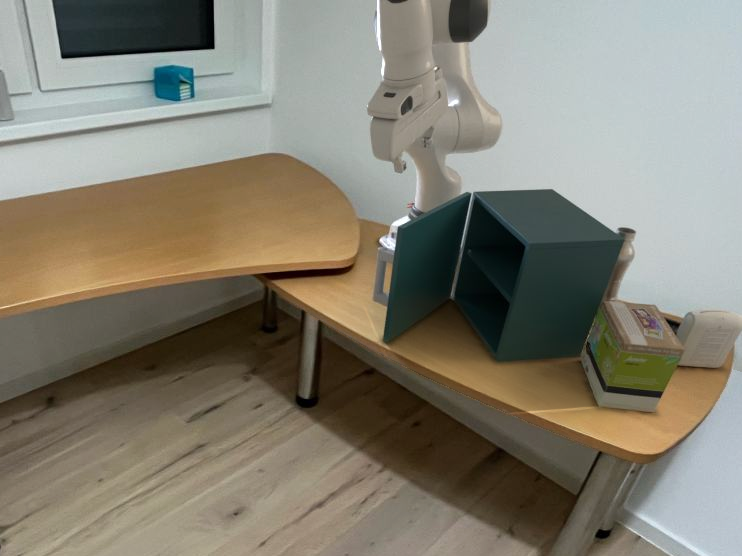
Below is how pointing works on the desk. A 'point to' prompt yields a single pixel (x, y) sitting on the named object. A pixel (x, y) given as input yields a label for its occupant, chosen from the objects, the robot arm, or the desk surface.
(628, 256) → the beige vase
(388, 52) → the robot arm
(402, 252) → the fridge door
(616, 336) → the tea box
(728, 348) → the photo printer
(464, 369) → the desk surface
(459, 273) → the box
